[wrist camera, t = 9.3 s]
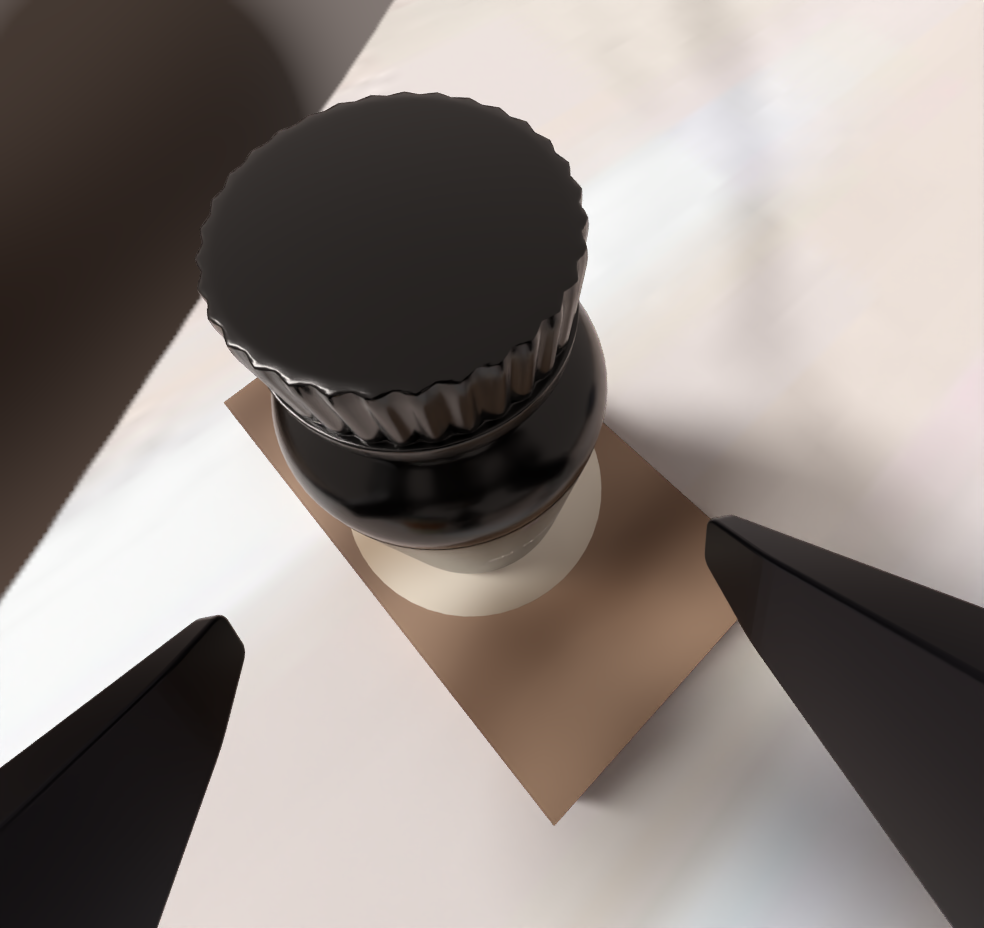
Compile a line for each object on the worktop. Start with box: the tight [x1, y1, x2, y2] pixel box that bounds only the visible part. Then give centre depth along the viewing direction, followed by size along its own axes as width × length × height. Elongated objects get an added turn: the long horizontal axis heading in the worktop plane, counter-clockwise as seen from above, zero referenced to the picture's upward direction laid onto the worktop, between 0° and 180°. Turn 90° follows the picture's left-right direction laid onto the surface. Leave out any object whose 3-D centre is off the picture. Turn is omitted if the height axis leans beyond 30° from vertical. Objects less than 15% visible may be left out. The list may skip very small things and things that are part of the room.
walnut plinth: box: [224, 377, 737, 826], centre depth 17 cm, size 20×11×2 cm, turn 43°
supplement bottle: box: [195, 92, 607, 574], centre depth 11 cm, size 7×7×12 cm
